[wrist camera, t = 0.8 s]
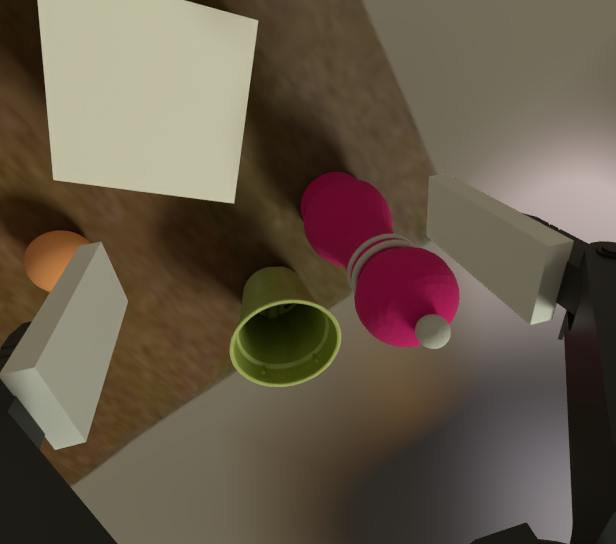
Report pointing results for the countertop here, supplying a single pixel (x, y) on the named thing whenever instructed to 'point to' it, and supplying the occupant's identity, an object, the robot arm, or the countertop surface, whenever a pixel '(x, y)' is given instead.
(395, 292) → the pepper mill
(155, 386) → the countertop surface
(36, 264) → the ball
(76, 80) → the cream cuboid
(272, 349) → the plant pot
